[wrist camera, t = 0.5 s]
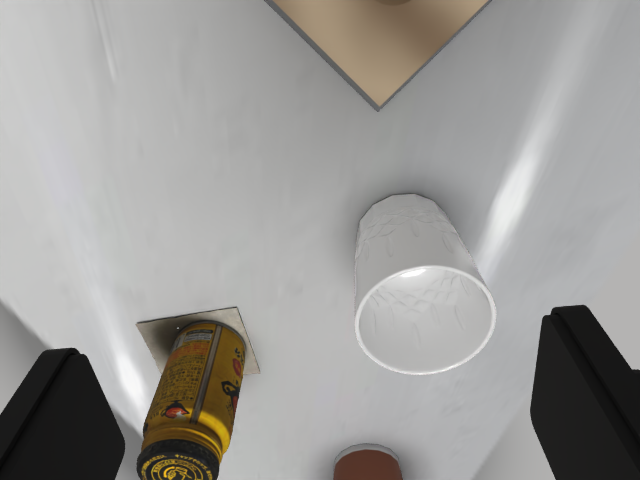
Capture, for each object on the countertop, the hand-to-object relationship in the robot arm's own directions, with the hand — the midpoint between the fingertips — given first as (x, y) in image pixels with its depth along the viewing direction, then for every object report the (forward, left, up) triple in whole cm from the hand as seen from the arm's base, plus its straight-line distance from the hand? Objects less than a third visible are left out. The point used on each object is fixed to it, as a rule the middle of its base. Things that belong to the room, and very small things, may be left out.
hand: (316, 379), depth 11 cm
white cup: (+4, +12, -25) cm, 28 cm away
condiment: (+23, +8, -25) cm, 35 cm away
